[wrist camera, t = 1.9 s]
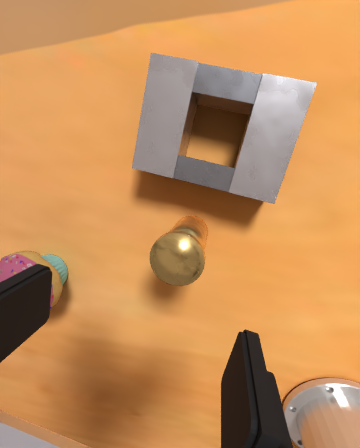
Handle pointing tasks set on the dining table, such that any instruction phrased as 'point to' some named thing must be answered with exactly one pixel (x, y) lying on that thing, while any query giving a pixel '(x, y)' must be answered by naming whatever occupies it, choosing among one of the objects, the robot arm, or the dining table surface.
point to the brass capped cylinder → (180, 252)
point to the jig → (225, 100)
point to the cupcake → (28, 258)
